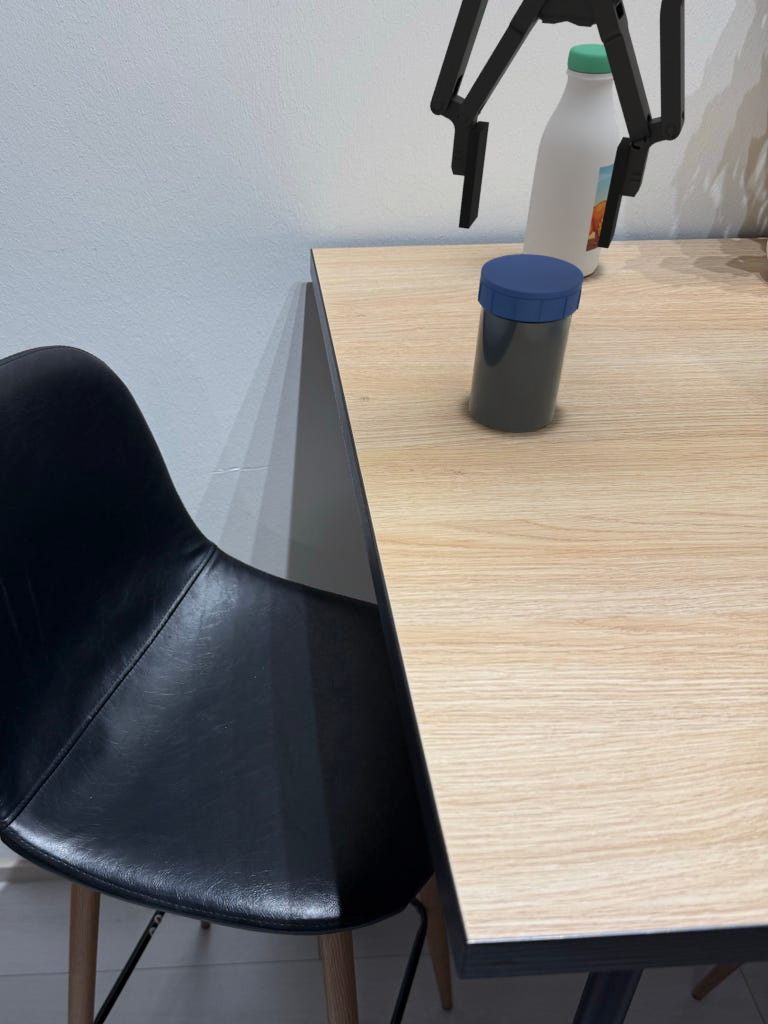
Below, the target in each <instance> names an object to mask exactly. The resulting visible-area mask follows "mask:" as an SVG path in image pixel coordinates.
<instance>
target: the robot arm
mask: <svg viewBox="0 0 768 1024" xmlns="http://www.w3.org/2000/svg"><path fill="white" fill-rule="evenodd" d="M488 3H489V0H461V3H460V7H459V10H458V13H457V17H456V19H455V23H454V26H453V29H452V32H451V35H450V38H449V42H448V46H447V49H446V51H445V54H444V58H443V61H442V64H441V66H440V67H441V68H440V70H439V74H438V77H437V79H436V83H435V87H434V90H433V93H432V96H431V100H430V103H429V109H430V111H431V113H432V114H433V115H435V116H442V117H444V118H445V119H447V120H449V121H450V122H451V123H452V124H453V127H454V134H453V143H452V144H453V145H452V153H451V154H452V156H451V164H450V169H451V172H452V175H453V176H460V177H463V182H462V192H461V201H460V202H461V203H460V209H459V219H458V228H459V229H467V230H469V229H470V228H471V227H472V225H473V224H474V223H475V221H476V220H477V219H478V217H479V211H480V201H481V194H482V193H481V192H482V184H483V176H484V169H485V161H486V160H485V159H486V152H487V145H488V144H487V142H488V135H489V127H490V121H482V120H478V117H479V116H480V115H481V113H482V111H483V109H484V108H485V106H486V104H487V103H488V101H489V99H490V98H491V97H492V95H493V93H494V91H495V90H496V88H497V86H498V85H499V84H500V82H501V80H502V79H503V76H504V75H505V73H507V70H508V68H509V67H510V66H511V64H512V62H513V61H514V59H515V57H516V56H517V54H518V53H519V51H520V49H521V47H522V46H523V44H524V43H525V42H526V39H527V38H528V36H529V35H530V33H531V32H532V30H533V29H534V27H535V26H536V24H537V23H538V21H539V20H540V21H541V24H549V25H556V24H560V23H565V22H567V23H570V24H573V25H574V26H575V25H576V26H578V27H585V28H592V27H593V26H594V25H596V29H597V31H598V35H599V39H600V41H601V43H602V45H604V47H605V51H606V54H607V58H608V62H609V65H610V69H611V72H612V76H613V84H614V86H615V90H616V94H617V97H618V101H619V105H620V109H621V111H622V112H621V113H622V115H623V119H624V123H625V126H626V131H627V134H628V137H627V136H623V137H622V138H621V140H620V141H619V145H618V147H617V151H616V156H615V161H614V166H613V171H612V176H611V181H610V186H609V191H608V196H607V201H606V206H605V211H604V216H603V221H602V226H601V231H600V236H599V241H598V246H597V247H601V249H602V248H603V249H609V248H610V246H611V244H612V242H613V239H614V237H615V233H616V228H617V223H618V218H619V214H620V208H621V205H622V200H623V197H630V198H635V197H636V195H637V194H638V192H639V191H640V188H641V186H642V184H643V180H644V176H645V171H646V168H647V162H648V157H649V152H650V148H651V147H652V146H653V145H654V144H656V143H660V142H664V141H668V142H670V141H675V140H676V139H677V138H678V137H679V136H680V134H681V132H682V130H683V127H684V125H685V120H686V97H685V96H686V95H685V94H686V89H685V88H686V75H685V74H686V71H685V69H686V67H685V66H686V65H685V64H686V62H685V61H686V59H685V58H686V53H685V52H686V50H685V49H686V47H685V46H686V41H685V40H686V39H685V38H686V37H685V35H686V34H685V33H686V28H685V27H686V25H685V23H686V16H685V15H686V13H685V12H686V9H685V7H686V5H685V4H686V1H685V0H661V2H660V8H659V9H660V11H659V71H660V73H659V75H660V76H659V77H660V79H659V80H660V81H659V82H660V83H659V85H660V116H658V117H654V118H653V115H652V112H651V108H650V104H649V101H648V98H647V93H646V90H645V89H646V88H645V86H644V83H643V79H642V74H641V71H640V70H641V69H640V67H639V63H638V60H637V56H636V52H635V48H634V45H633V44H634V43H633V40H632V37H631V33H630V28H629V20H628V16H627V13H626V9H625V5H624V0H522V1H521V3H520V4H519V6H518V8H517V10H516V12H515V13H514V15H513V17H512V18H511V20H510V22H509V23H508V25H507V28H506V30H505V32H504V33H503V35H502V36H501V38H500V40H499V41H498V43H497V45H496V46H495V48H494V49H493V51H492V52H491V55H490V56H489V58H488V59H487V61H486V63H485V64H484V66H483V68H482V69H481V71H480V73H479V74H478V76H477V77H476V79H475V81H474V83H473V85H472V86H471V88H470V89H469V91H468V93H467V94H466V95H465V98H464V97H462V96H461V95H459V91H460V88H461V86H462V82H463V79H464V76H465V73H466V70H467V67H468V64H469V61H470V58H471V55H472V51H473V48H474V45H475V42H476V39H477V37H478V35H479V34H478V33H479V31H480V28H481V25H482V21H483V18H484V15H485V12H486V9H487V7H488Z"/></svg>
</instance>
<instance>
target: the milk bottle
mask: <svg viewBox="0 0 768 1024" xmlns="http://www.w3.org/2000/svg"><path fill="white" fill-rule="evenodd" d="M565 74H566V76H567V79H566V84H565V86H564V87H565V88H564V89H563V93H562V95H561V97H560V99H559V102H558V104H557V105H556V107H555V109H554V111H553V112H552V114H551V115H550V116H549V119H548V121H547V123H546V125H545V128H544V129H543V132H542V135H541V137H540V140H539V145H538V149H537V155H536V161H535V167H534V172H533V178H532V185H531V192H530V197H529V198H530V199H529V206H528V212H527V218H526V219H527V220H526V226H525V232H524V238H523V247H522V254H534V255H543V256H549V257H554V258H558V259H561V260H564V261H566V262H569V263H571V264H573V265H575V266H576V267H577V268H579V269H580V270H581V271H582V273H583V276H584V277H587V276H589V275H591V274H593V273H594V272H595V271H596V269H597V268H598V264H599V260H600V255H601V251H602V248H601V247H597V246H598V241H599V236H600V231H601V226H602V221H603V216H604V211H605V206H606V201H607V196H608V191H609V186H610V181H611V176H612V171H613V166H614V161H615V156H616V151H617V147H618V145H619V143H620V130H619V129H620V128H619V124H618V123H619V122H618V120H617V115H616V109H615V104H614V99H613V98H614V95H613V85H614V80H613V76H612V72H611V69H610V65H609V62H608V58H607V54H606V51H605V47H604V44H603V43H602V44H601V43H584V44H583V43H582V44H578V45H573V46H572V47H571V48H570V49H569V51H568V56H567V69H566V71H565Z"/></svg>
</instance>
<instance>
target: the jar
mask: <svg viewBox="0 0 768 1024" xmlns="http://www.w3.org/2000/svg"><path fill="white" fill-rule="evenodd" d="M572 318H573V314H572V315H570V316H568V317H566V318H563V319H559V320H554V321H547V322H524V321H517V320H511V319H507V318H503V317H500V316H497V315H495V314H493V313H490V312H489V311H487V310H486V309H484V308H483V307H482V306H481V305H480V313H479V319H478V320H479V321H478V329H477V337H476V345H475V353H474V362H473V369H472V370H473V371H472V377H471V386H470V393H469V394H470V395H469V402H468V412H469V414H470V416H471V417H472V418H473V419H474V420H475V421H476V422H477V423H479V424H480V425H483V426H485V427H487V428H490V429H493V430H497V431H500V432H507V433H527V432H533V431H538V430H541V429H543V428H545V427H546V426H549V424H550V423H551V422H552V421H553V420H554V416H555V411H556V405H557V399H558V394H559V389H560V383H561V378H562V372H563V368H564V362H565V357H566V351H567V345H568V341H569V335H570V330H571V324H572Z"/></svg>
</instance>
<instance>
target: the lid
mask: <svg viewBox="0 0 768 1024" xmlns="http://www.w3.org/2000/svg"><path fill="white" fill-rule="evenodd" d="M584 278H585V276H583V273H582V271H581V270H580V269H579V268H577V267H576V266H575V265H573V264H571V263H569V262H566V261H564V260H561V259H558V258H554V257H549V256H543V255H534V254H523V253H515V254H507V255H502V256H498V257H494V258H492V259H490V260H488V261H486V262H484V263H483V264H482V267H481V269H480V276H479V283H478V293H477V302H478V303H479V305H480V307H481V306H482V307H483V308H484V309H486V310H487V311H489V312H490V313H493V314H495V315H497V316H500V317H503V318H507V319H511V320H517V321H524V322H547V321H554V320H559V319H563V318H566V317H568V316H570V315H572V316H573V314H574V313H576V311H577V310H579V308H580V307H579V306H580V301H581V298H582V297H581V296H582V289H583V283H584Z"/></svg>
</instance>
